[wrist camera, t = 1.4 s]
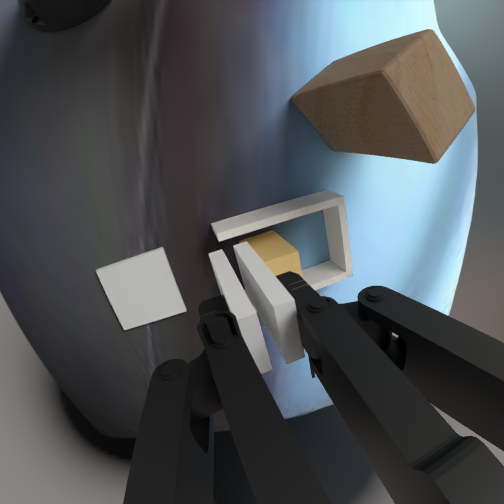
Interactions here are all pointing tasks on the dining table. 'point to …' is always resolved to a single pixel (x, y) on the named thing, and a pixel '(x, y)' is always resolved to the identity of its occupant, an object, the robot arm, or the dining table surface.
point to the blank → (275, 252)
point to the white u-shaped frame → (294, 208)
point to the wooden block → (390, 100)
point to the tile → (142, 289)
